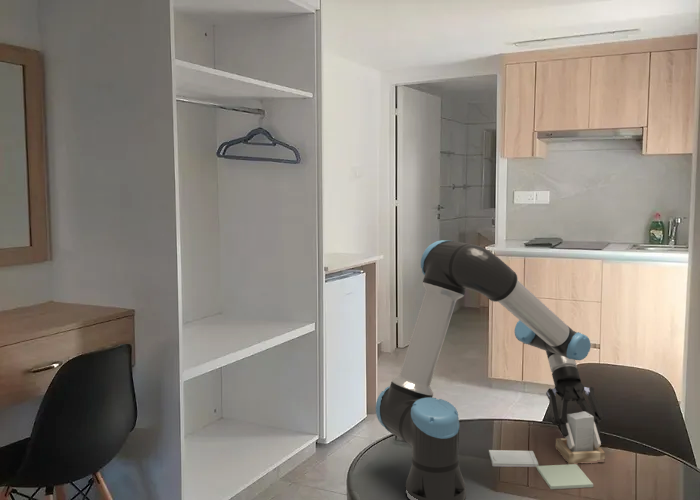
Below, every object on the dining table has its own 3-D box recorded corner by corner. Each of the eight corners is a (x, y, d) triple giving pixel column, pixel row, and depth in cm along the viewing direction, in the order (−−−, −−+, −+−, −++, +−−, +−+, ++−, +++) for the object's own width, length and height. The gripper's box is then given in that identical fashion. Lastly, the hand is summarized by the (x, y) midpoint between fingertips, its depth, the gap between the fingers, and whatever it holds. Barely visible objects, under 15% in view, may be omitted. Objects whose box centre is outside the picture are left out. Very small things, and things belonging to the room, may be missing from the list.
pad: (550, 489, 168) (550, 486, 167) (536, 468, 178) (536, 466, 178) (593, 487, 168) (593, 484, 168) (576, 466, 179) (576, 464, 179)
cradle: (568, 464, 180) (569, 454, 180) (555, 448, 190) (555, 438, 190) (604, 462, 181) (604, 452, 180) (589, 446, 191) (589, 436, 190)
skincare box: (584, 450, 188) (585, 410, 187) (593, 457, 184) (594, 416, 183) (565, 453, 187) (566, 413, 185) (574, 460, 183) (575, 419, 181)
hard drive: (492, 462, 180) (538, 463, 179) (488, 449, 188) (532, 449, 187) (492, 468, 181) (538, 468, 180) (488, 454, 189) (532, 455, 188)
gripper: (592, 374, 199) (615, 449, 185) (528, 377, 198) (546, 453, 184) (600, 363, 193) (624, 440, 179) (534, 366, 192) (553, 443, 178)
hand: (585, 446), depth 181 cm, fingers closed on skincare box, 7 cm apart
